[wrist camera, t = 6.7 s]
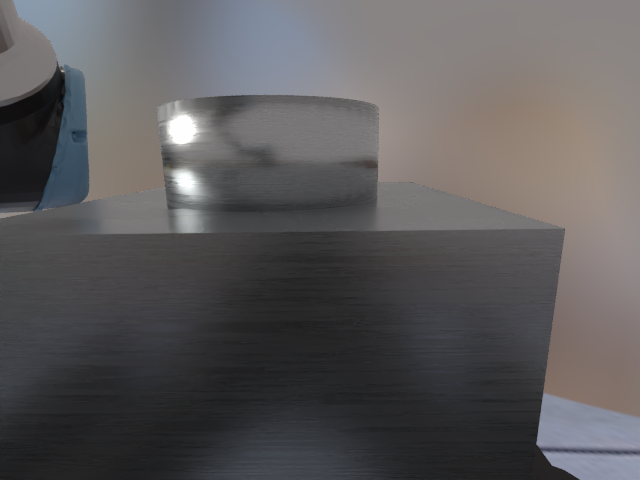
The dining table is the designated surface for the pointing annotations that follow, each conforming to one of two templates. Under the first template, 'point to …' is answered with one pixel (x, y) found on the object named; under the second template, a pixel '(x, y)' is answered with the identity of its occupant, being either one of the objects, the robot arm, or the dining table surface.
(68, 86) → the robot arm
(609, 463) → the dining table surface
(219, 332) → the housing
